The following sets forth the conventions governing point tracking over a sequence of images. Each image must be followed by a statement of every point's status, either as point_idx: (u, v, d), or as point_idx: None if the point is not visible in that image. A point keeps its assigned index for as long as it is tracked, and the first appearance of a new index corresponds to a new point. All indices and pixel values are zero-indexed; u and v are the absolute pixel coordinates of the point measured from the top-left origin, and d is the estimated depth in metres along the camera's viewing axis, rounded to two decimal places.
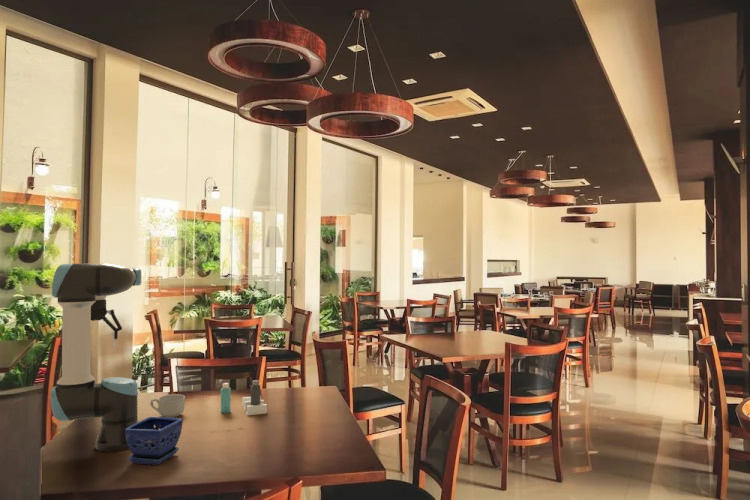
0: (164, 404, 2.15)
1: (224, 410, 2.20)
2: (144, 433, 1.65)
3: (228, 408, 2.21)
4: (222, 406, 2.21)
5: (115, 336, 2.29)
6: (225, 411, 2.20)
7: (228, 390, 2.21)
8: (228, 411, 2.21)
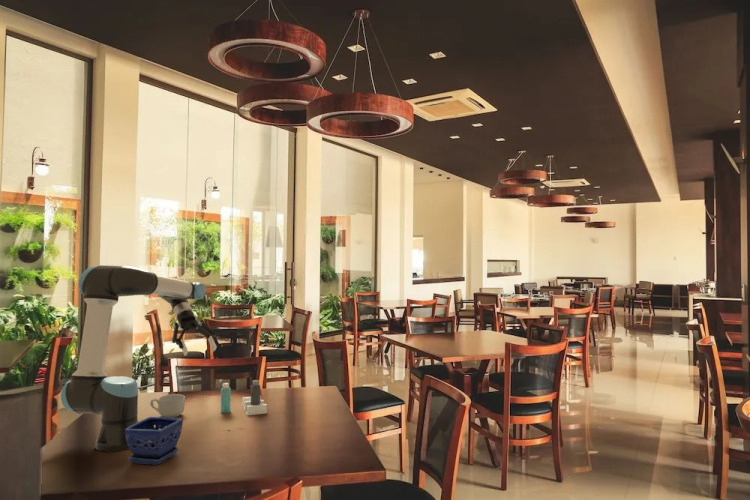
0: (164, 404, 2.15)
1: (224, 410, 2.20)
2: (144, 433, 1.65)
3: (228, 408, 2.21)
4: (222, 406, 2.21)
5: (213, 339, 2.37)
6: (225, 411, 2.20)
7: (228, 390, 2.21)
8: (228, 411, 2.21)
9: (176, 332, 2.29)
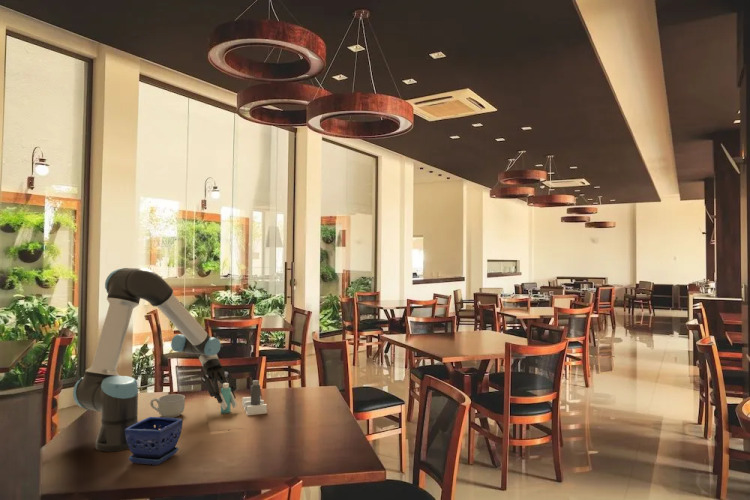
0: (164, 404, 2.15)
1: (224, 410, 2.20)
2: (144, 433, 1.65)
3: (228, 408, 2.21)
4: None
5: (233, 395, 2.24)
6: (225, 411, 2.20)
7: (228, 390, 2.21)
8: (228, 411, 2.21)
9: (210, 385, 2.21)
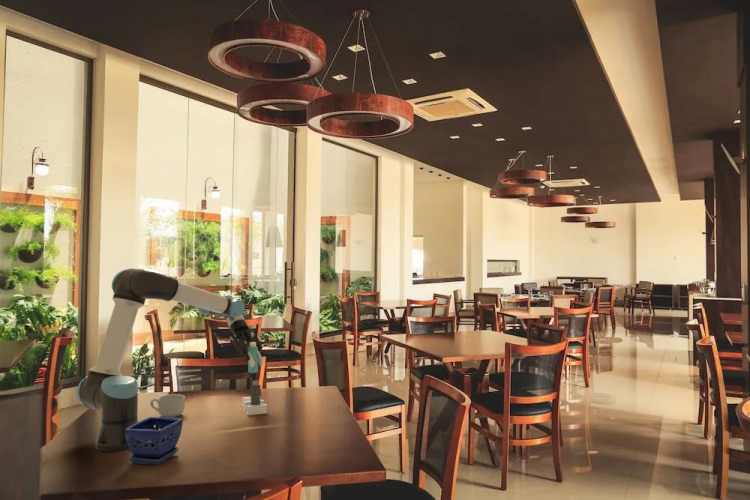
0: (164, 404, 2.15)
1: None
2: (144, 433, 1.65)
3: (255, 366, 2.29)
4: None
5: (260, 354, 2.32)
6: (252, 368, 2.28)
7: (255, 348, 2.29)
8: (255, 369, 2.29)
9: (238, 344, 2.29)
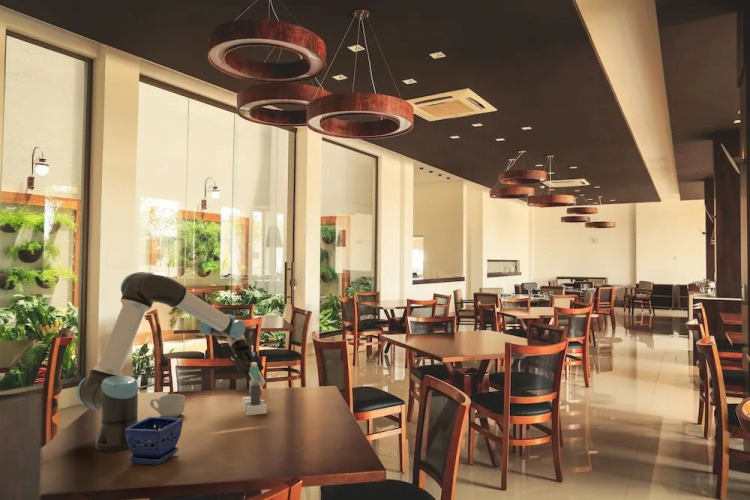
0: (164, 404, 2.15)
1: None
2: (144, 433, 1.65)
3: None
4: None
5: (261, 374, 2.32)
6: None
7: (256, 369, 2.29)
8: None
9: (239, 364, 2.29)
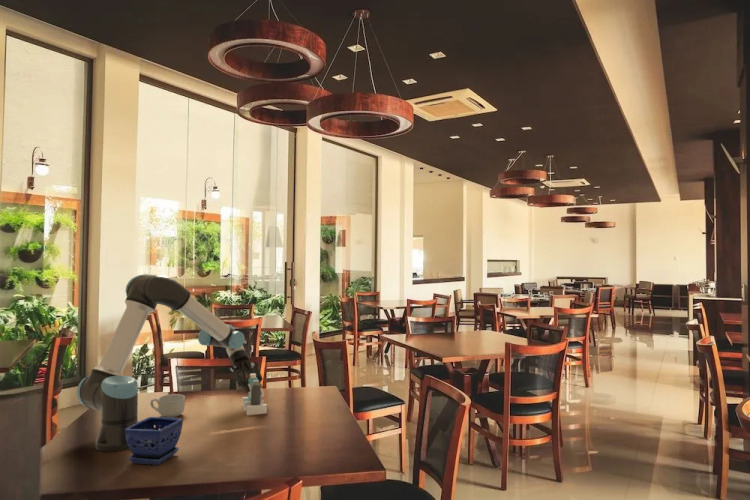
0: (164, 404, 2.15)
1: None
2: (144, 433, 1.65)
3: None
4: None
5: None
6: None
7: None
8: None
9: (238, 375, 2.29)
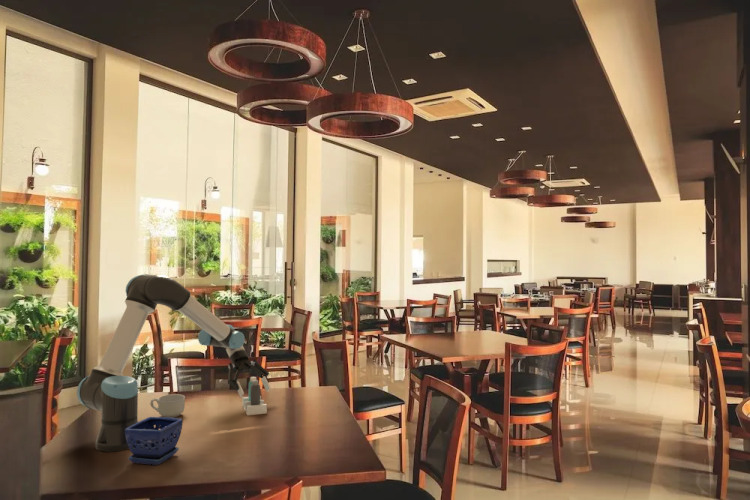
0: (164, 404, 2.15)
1: None
2: (144, 433, 1.65)
3: None
4: (250, 399, 2.28)
5: (266, 380, 2.36)
6: None
7: None
8: None
9: (231, 373, 2.27)
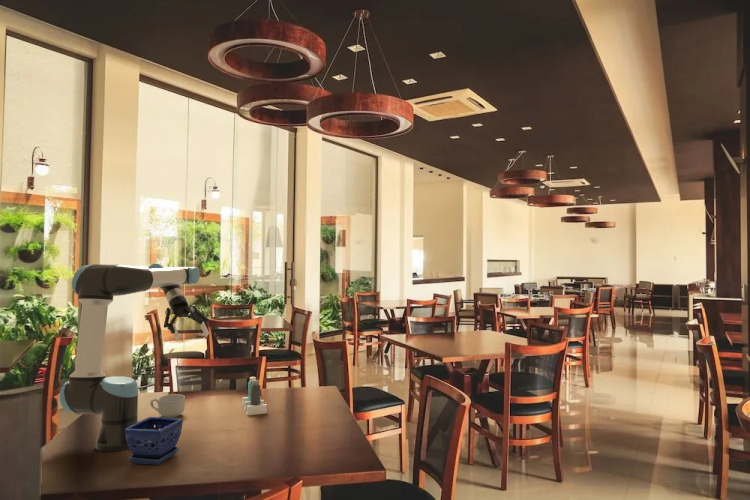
0: (164, 404, 2.15)
1: None
2: (144, 433, 1.65)
3: None
4: (250, 399, 2.28)
5: (205, 326, 2.34)
6: None
7: None
8: None
9: (168, 317, 2.26)
